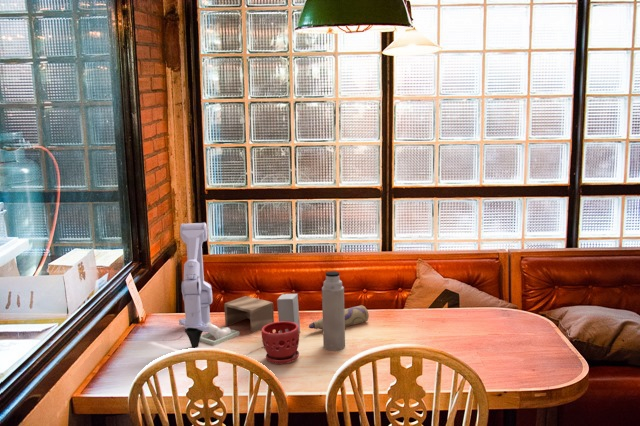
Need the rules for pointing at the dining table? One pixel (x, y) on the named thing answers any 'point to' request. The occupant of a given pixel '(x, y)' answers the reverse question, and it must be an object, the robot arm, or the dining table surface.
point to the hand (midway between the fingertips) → (195, 346)
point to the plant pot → (281, 342)
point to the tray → (203, 339)
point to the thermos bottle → (333, 312)
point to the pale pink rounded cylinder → (222, 333)
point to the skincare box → (288, 309)
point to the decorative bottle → (347, 317)
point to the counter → (249, 312)
